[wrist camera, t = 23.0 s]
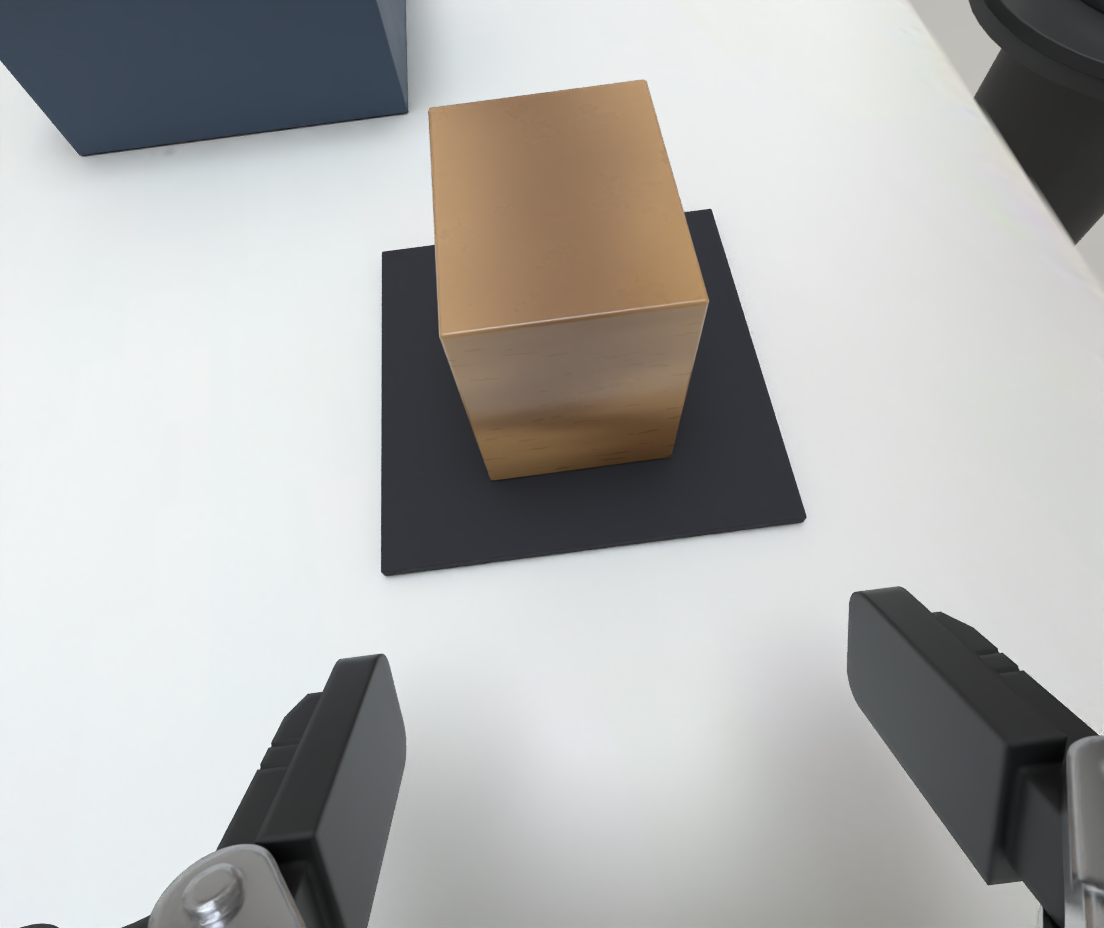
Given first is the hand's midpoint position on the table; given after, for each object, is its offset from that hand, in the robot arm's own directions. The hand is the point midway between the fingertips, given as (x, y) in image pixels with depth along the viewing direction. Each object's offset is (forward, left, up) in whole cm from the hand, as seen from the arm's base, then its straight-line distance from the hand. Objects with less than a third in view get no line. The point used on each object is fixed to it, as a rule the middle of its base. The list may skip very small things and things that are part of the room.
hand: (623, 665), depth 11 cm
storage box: (+12, -29, -6) cm, 32 cm away
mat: (0, -10, -6) cm, 12 cm away
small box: (0, -10, -6) cm, 11 cm away
